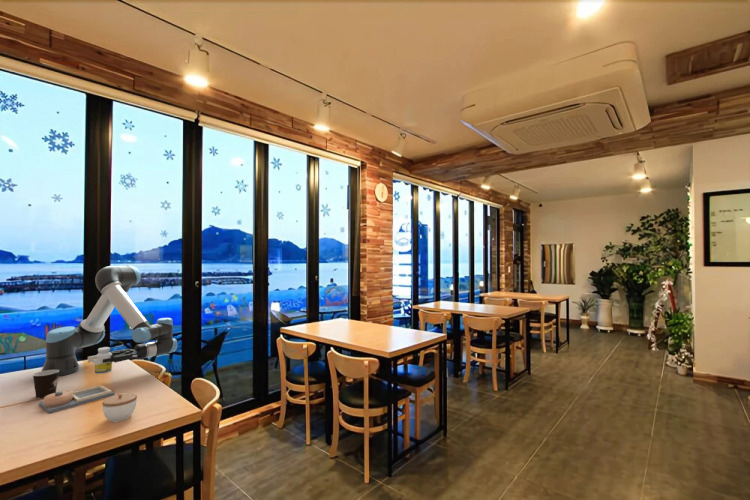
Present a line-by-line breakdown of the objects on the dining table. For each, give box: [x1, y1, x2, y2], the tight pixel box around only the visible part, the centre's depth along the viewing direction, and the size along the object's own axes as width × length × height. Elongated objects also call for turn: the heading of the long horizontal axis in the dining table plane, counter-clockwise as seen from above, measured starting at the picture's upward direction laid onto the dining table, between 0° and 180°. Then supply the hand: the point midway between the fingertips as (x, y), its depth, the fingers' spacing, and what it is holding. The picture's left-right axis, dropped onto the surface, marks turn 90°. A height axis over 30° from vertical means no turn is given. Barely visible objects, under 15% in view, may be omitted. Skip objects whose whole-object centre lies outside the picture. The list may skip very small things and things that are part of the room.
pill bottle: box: [94, 346, 113, 375], centre depth 170 cm, size 6×6×12 cm
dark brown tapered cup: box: [32, 370, 60, 399], centre depth 158 cm, size 12×9×10 cm
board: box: [38, 384, 116, 414], centre depth 151 cm, size 14×22×5 cm, turn 146°
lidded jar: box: [102, 392, 138, 423], centre depth 134 cm, size 11×11×9 cm
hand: (90, 361), depth 165 cm, fingers closed on pill bottle, 6 cm apart
